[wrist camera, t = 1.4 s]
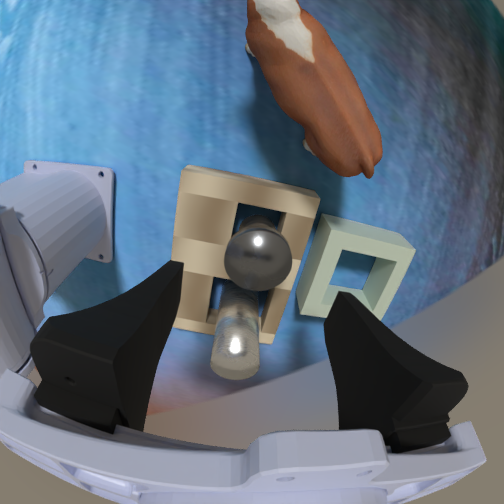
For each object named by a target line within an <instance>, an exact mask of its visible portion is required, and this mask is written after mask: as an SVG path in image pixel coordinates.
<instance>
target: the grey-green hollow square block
mask: <svg viewBox="0 0 504 504" xmlns="http://www.w3.org/2000/svg"><path fill="white" fill-rule="evenodd" d="M342 249H343V250H348V251H352V252H357V253H361V254H366V255H370V256H375V257H377V258H376V260H375V262H374V265H373V267H372V269H371V271H370V274H369V276H368V278H367V280H366V283H365V285H364V287H363V289H362V290H359V289H353V288H347V287H341V286H335V285H329V282H330V280H331V277H332V275H333V272H334V270H335V267H336V264H337V262H338V259H339V257H340V254H341V251H342ZM415 251H416V250H415V249H414V248H413V247H412V246H411V245H410V244H409V243H408V242H407V240H406V239H405V238H404V237H403V236H402V235H401V234H400V233H396V232H393V231H389V230H386V229H382V228H378V227H374V226H371V225H367V224H363V223H359V222H355V221H352V220H348V219H344V218H340V217H336V216H332V215H327V214H323V213H322V214H321V217H320V220H319V223H318V227H317V230H316V233H315V236H314V239H313V242H312V245H311V248H310V251H309V254H308V257H307V260H306V263H305V266H304V269H303V272H302V275H301V277H300V280H299V283H298V286H297V289H296V296H297V300H298V305H299V310H300V314H302V315H309V316H317V317H324V318H327V316H328V314H329V311H330V309H331V307H332V305H333V302H334V300H335V298H336V296H337V293H338V291H343V292H349V293H351V294H353V295H354V296H355V297H356V298H357V299H358V300H359V301H360V302H361V303H363V304H364V305H365V306H366V307H367V308H368V309H369V310H370V311H371V312H372V313H373V314H374V315H375V316H376V317H377V318H378V319H379V320H380V321H381V319H382V317H383V316H384V314H385V312H386V310H387V308H388V306H389V305H390V303H391V301H392V299H393V297H394V295H395V293H396V291H397V289H398V287H399V285H400V283H401V281H402V279H403V277H404V275H405V273H406V271H407V269H408V267H409V265H410V262H411V260H412V258H413V256H414V254H415Z"/></svg>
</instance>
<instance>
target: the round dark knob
mask: <svg viewBox="0 0 504 504" xmlns="http://www.w3.org/2000/svg"><path fill="white" fill-rule="evenodd" d="M224 267H225V270H226V273H227V275H228V276H229V278H230V279H231V280H232V281H233V282H234V283H235V284H237V285H238V286H240V287H242V288H244V289H247V290H251V291H265V290H269V289H272V288H274V287H276V286H278V285H279V284H281V283H282V282H283V281H284V280H285V279H286V278H287V276H288V275H289V273H290V271H291V268H292V254H291V250H290V246H289V244H288V242H287V240H286V238H285V237H284V236H283V235H282V234H281V233H280V232H278V231H277V230H276V228H275V225H274V223H273V222H272V220H271V219H270V218H268V217H266V216H264V215H260V214H255V215H251V216H248V217H247V218H245V219H244V220H243V221H242V223H241V224H240V227H239V231H238V232H236V233H235V234H234V235H233V236H232V237H231V239H230V240H229V242H228V244H227V246H226V250H225V256H224Z"/></svg>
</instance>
